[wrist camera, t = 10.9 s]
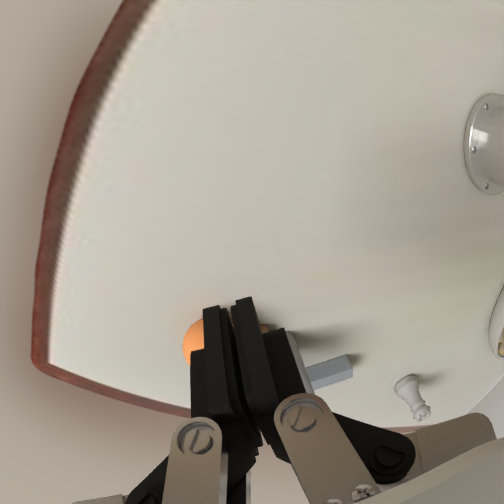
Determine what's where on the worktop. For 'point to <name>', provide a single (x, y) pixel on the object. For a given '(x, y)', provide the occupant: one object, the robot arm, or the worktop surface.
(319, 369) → the grey rectangular bar
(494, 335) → the bowl
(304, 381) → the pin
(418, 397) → the rook chess piece
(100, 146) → the worktop surface
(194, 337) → the ball
